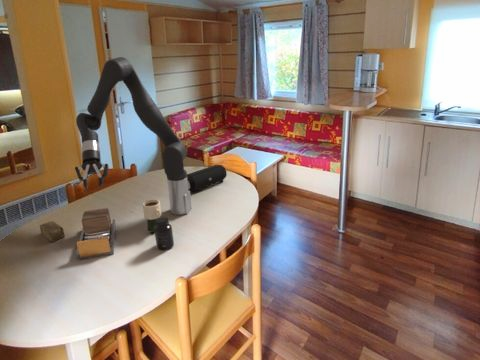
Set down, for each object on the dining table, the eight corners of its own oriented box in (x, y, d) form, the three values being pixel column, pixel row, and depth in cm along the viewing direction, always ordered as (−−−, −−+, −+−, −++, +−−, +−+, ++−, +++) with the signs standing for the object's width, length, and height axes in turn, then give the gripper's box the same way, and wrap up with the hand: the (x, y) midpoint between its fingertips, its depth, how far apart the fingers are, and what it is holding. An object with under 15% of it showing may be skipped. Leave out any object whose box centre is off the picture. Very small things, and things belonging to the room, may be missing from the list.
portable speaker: (192, 195, 182) (190, 178, 178) (181, 190, 188) (179, 173, 184) (228, 181, 198) (227, 165, 194) (216, 177, 205) (215, 161, 201)
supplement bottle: (157, 242, 140) (154, 216, 136) (174, 240, 141) (171, 214, 136) (155, 251, 134) (151, 224, 129) (173, 250, 134) (170, 223, 130)
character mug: (169, 230, 148) (166, 203, 143) (155, 237, 144) (151, 209, 139) (154, 222, 155) (151, 196, 150) (140, 228, 151) (136, 202, 146)
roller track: (84, 229, 151) (81, 215, 148) (116, 224, 154) (113, 210, 152) (77, 260, 130) (73, 244, 127) (113, 254, 133) (110, 238, 130)
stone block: (52, 243, 142) (49, 232, 140) (40, 234, 149) (37, 224, 147) (66, 237, 146) (63, 227, 144) (54, 229, 153) (51, 219, 151)
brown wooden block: (86, 224, 148) (83, 210, 146) (111, 220, 151) (108, 207, 148) (84, 233, 141) (81, 219, 139) (110, 229, 144) (107, 215, 141)
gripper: (71, 150, 149) (73, 186, 143) (106, 147, 153) (109, 182, 147) (75, 158, 156) (77, 193, 150) (109, 154, 159) (112, 188, 153)
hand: (93, 187), depth 148 cm, fingers open, 5 cm apart
